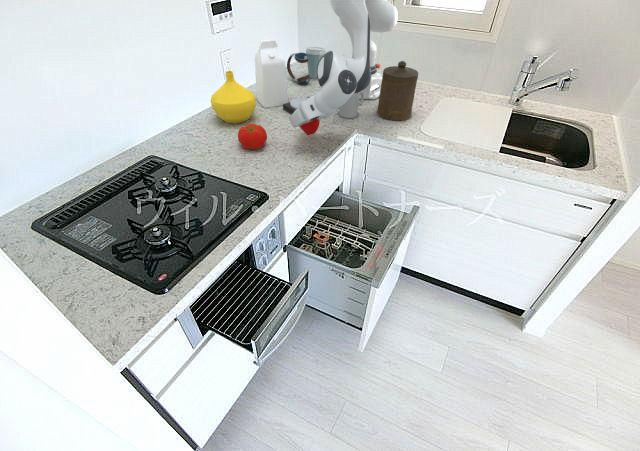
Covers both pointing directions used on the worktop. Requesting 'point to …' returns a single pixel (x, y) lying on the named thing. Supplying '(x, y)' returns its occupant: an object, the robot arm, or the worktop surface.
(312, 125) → the heart
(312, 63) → the disposable coffee cup
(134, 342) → the worktop surface
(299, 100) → the scale
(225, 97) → the vase
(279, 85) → the milk
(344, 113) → the mug
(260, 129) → the tomato
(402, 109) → the wooden container
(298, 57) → the headphones
